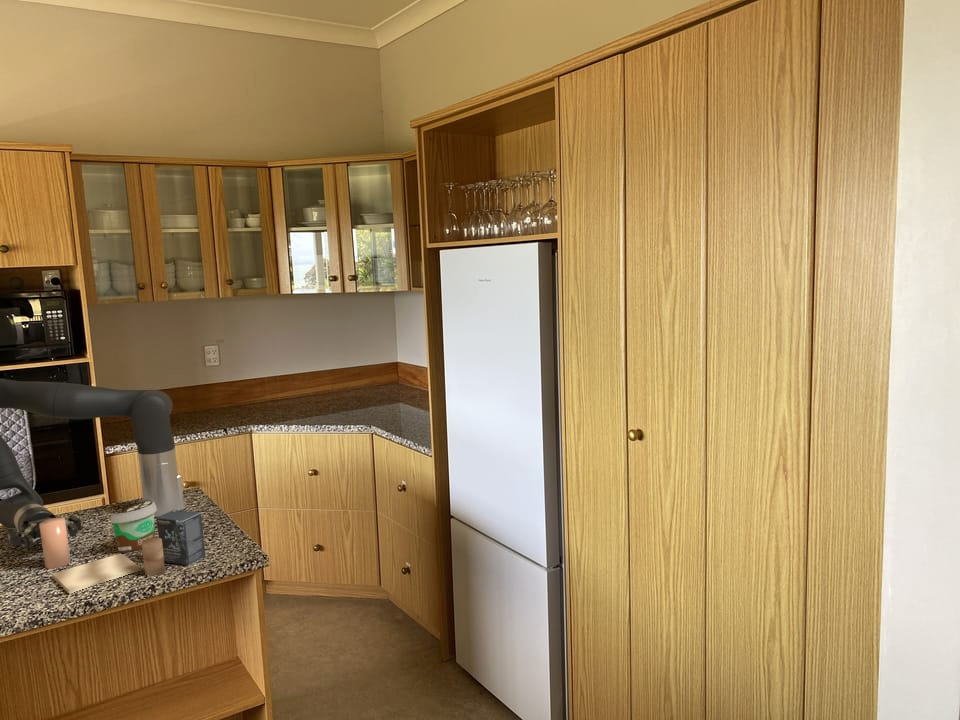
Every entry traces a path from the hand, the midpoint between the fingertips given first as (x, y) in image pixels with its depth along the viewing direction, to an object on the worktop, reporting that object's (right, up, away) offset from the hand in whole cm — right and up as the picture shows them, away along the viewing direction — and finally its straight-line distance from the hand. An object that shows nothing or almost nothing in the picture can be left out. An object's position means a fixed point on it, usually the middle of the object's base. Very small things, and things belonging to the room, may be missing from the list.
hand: (53, 537), depth 161 cm
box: (+30, -5, -1) cm, 30 cm away
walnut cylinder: (+26, -6, -7) cm, 28 cm away
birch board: (+13, -6, -7) cm, 16 cm away
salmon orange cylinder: (+1, -6, 0) cm, 6 cm away
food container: (+16, -4, +9) cm, 19 cm away
